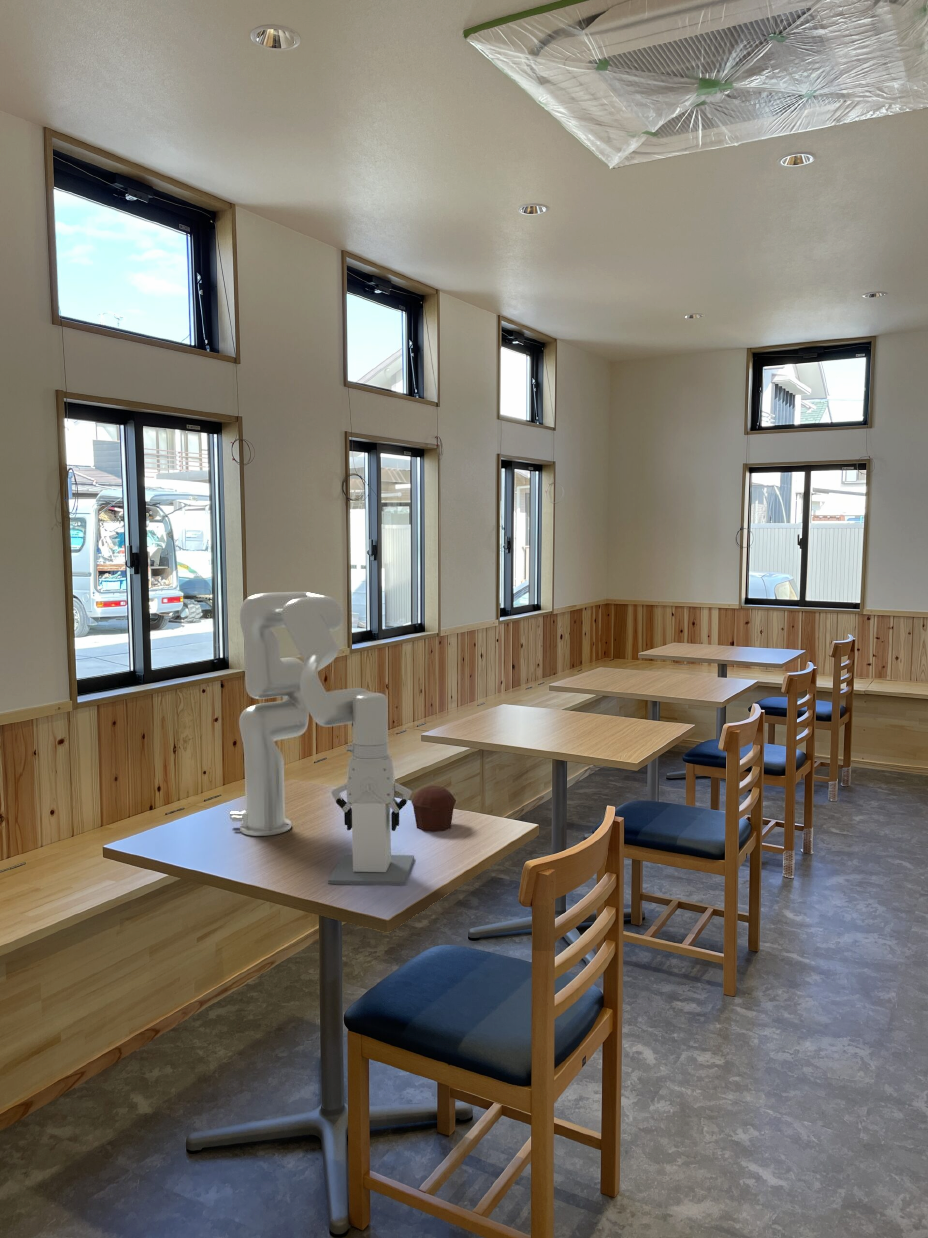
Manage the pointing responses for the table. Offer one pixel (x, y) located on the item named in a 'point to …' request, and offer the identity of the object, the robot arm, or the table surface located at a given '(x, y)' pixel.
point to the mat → (392, 876)
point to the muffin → (433, 808)
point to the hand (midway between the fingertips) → (372, 828)
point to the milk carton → (371, 836)
